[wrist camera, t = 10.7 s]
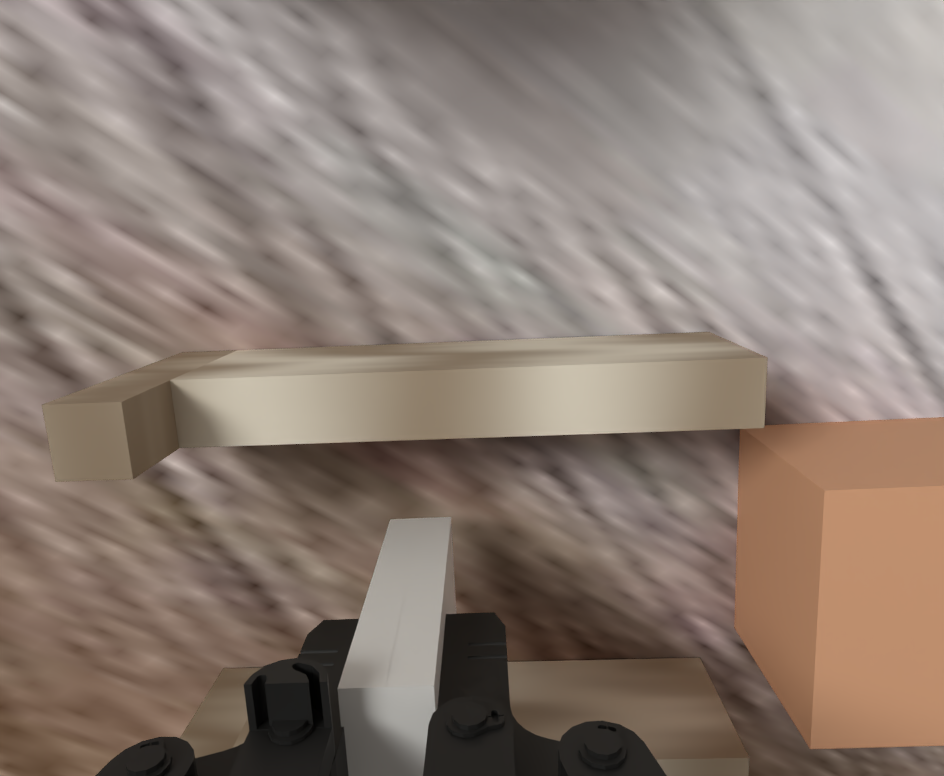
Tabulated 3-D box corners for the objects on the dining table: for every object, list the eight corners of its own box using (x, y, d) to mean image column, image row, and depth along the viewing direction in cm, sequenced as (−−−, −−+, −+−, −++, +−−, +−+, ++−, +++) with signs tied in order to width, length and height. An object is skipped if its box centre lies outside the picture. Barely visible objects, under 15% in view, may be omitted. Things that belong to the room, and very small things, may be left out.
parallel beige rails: (229, 712, 21) (128, 895, 15) (182, 352, 19) (41, 404, 13) (698, 703, 21) (780, 888, 15) (708, 331, 18) (810, 376, 12)
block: (732, 625, 20) (810, 749, 15) (738, 424, 19) (824, 490, 14) (945, 618, 20) (1092, 741, 15) (965, 414, 19) (1132, 477, 14)
